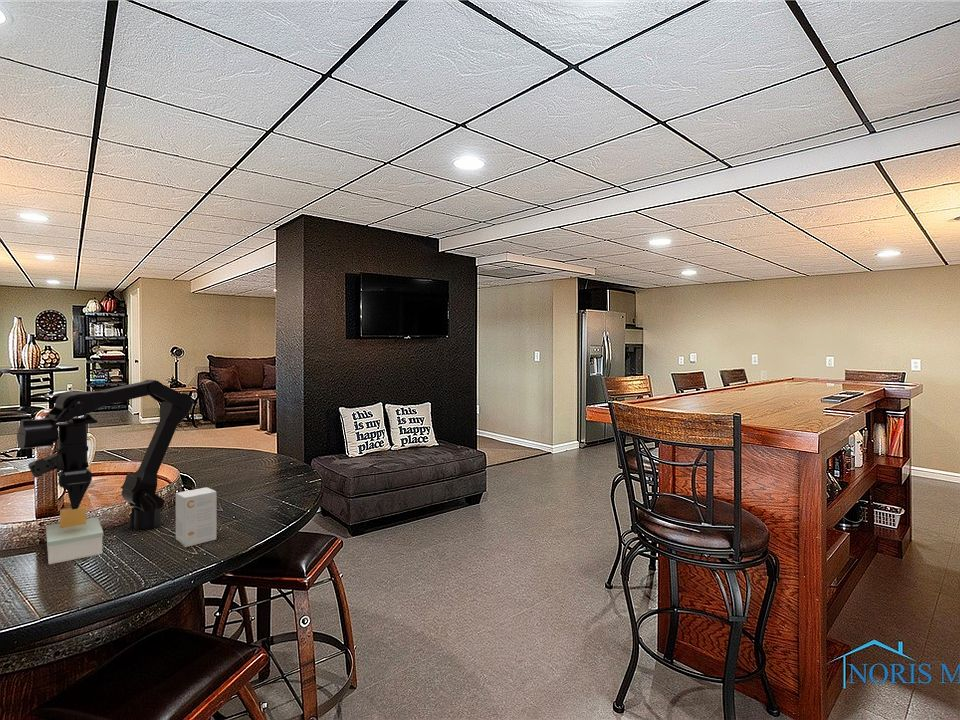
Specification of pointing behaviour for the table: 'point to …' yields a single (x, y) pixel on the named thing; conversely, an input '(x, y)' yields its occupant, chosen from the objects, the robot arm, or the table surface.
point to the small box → (196, 516)
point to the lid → (73, 527)
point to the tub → (74, 550)
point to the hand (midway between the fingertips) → (73, 504)
